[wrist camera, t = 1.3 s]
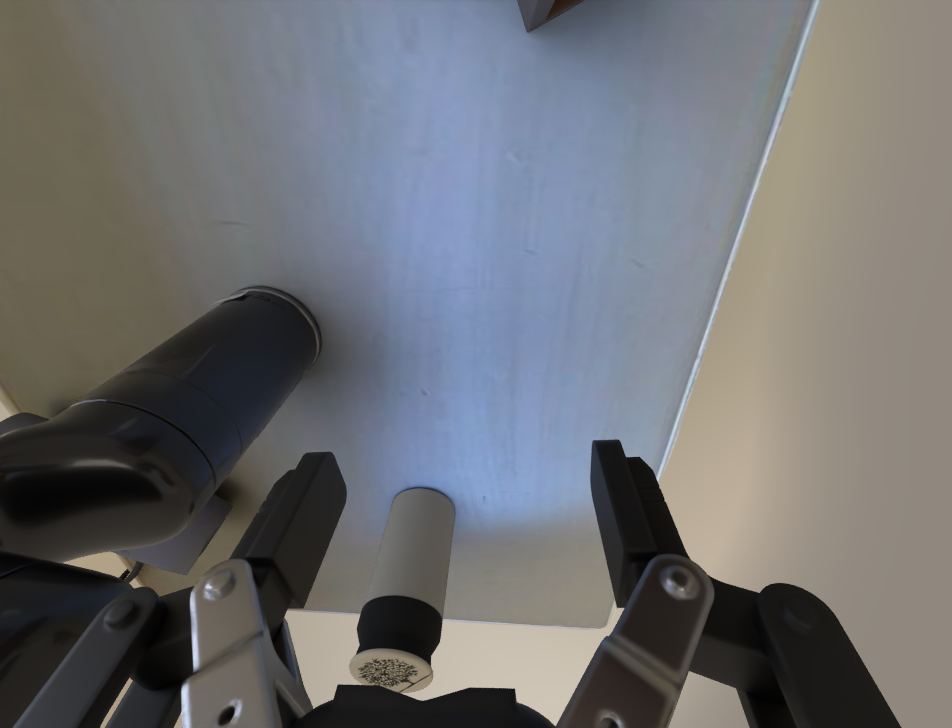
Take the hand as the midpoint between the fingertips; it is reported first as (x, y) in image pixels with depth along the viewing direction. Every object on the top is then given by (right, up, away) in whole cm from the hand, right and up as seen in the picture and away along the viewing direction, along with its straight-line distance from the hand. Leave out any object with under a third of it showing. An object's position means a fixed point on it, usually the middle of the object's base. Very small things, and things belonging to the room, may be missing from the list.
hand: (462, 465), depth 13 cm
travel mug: (-6, -15, +39) cm, 42 cm away
